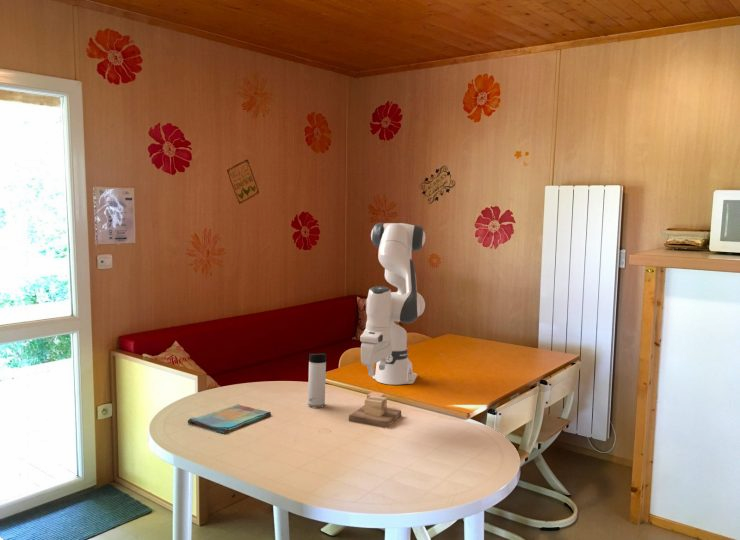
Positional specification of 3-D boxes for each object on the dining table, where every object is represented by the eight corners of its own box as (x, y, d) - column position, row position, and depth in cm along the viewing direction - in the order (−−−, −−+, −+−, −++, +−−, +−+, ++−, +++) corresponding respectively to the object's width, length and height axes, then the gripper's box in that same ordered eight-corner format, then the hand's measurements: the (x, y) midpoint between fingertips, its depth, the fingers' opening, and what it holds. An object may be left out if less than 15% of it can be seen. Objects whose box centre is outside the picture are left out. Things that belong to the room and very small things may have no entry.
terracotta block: (371, 404, 224) (372, 391, 224) (384, 406, 222) (384, 393, 222) (366, 408, 220) (366, 395, 219) (379, 410, 218) (379, 397, 217)
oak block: (370, 409, 212) (371, 395, 211) (386, 411, 210) (387, 397, 209) (364, 413, 206) (364, 399, 206) (380, 416, 204) (380, 402, 204)
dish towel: (185, 425, 196) (185, 417, 196) (235, 408, 216) (236, 401, 216) (223, 436, 187) (224, 428, 187) (272, 417, 207) (272, 410, 207)
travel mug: (309, 408, 216) (310, 354, 215) (306, 403, 223) (307, 350, 221) (326, 407, 218) (327, 354, 217) (322, 402, 224) (324, 350, 223)
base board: (365, 410, 217) (365, 404, 217) (401, 416, 212) (401, 410, 212) (348, 421, 204) (349, 415, 204) (386, 427, 199) (386, 421, 199)
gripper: (381, 328, 217) (379, 365, 218) (357, 337, 198) (356, 378, 199) (397, 329, 214) (395, 367, 215) (375, 339, 195) (373, 380, 197)
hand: (376, 372), depth 207 cm, fingers open, 8 cm apart
